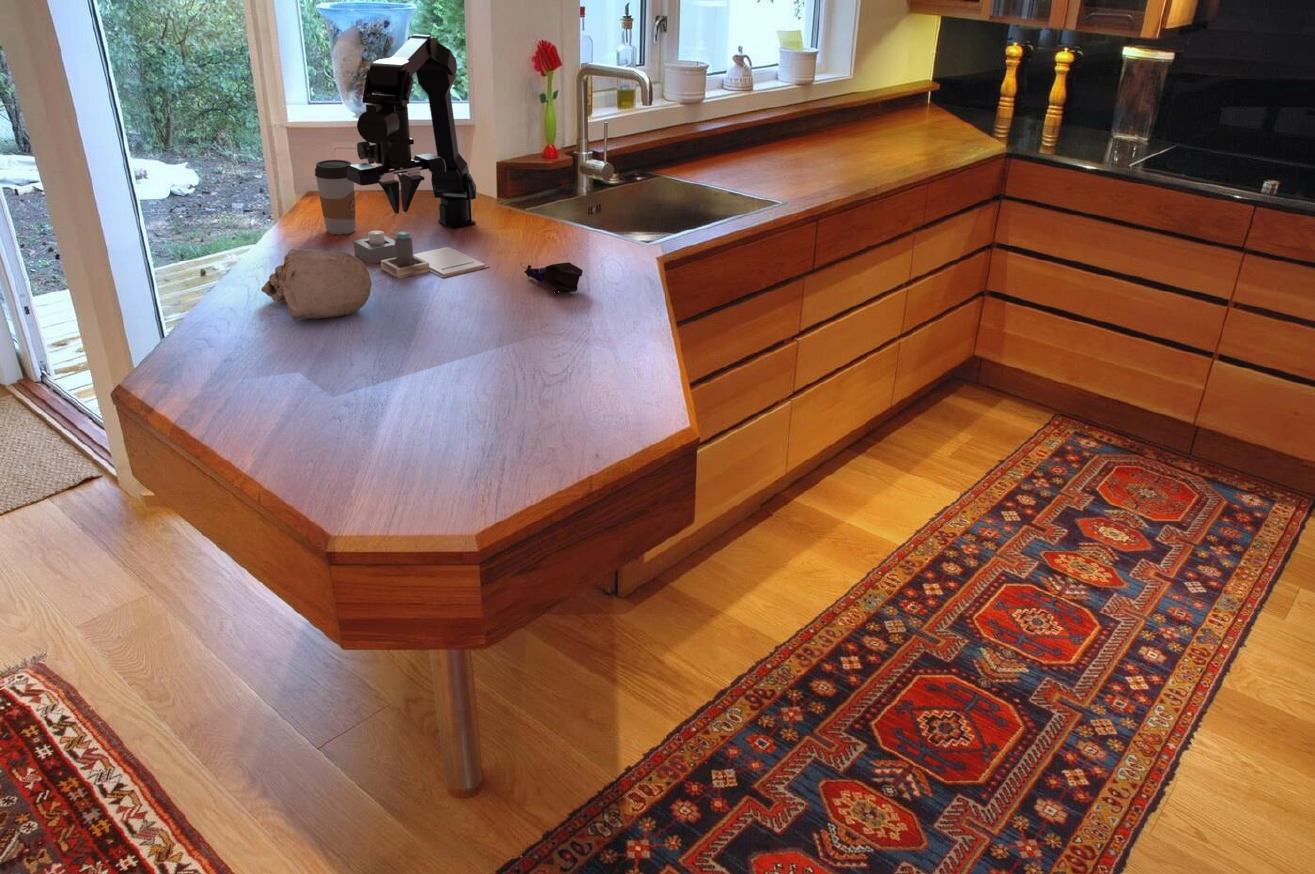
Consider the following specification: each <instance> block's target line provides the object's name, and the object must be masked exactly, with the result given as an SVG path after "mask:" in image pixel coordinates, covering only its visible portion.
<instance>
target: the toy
mask: <svg viewBox="0 0 1315 874" xmlns="http://www.w3.org/2000/svg"><path fill="white" fill-rule="evenodd" d="M519 266H520V267H521V268H522V269H524V273H525V274H526V275H527V278H532V279H534V280H535V281H537V282H538V281H544V283H545V284H547V285H548V286H549V287H551V288H553V289H554V292H555V294H559V293H558V291H559V292H560V293H562V294H563V293H564V294H565V293H576V291H577V292H578V285H579V280H580V277H582V276H583V273H584V271H583V269H582V268H580V267H578V266H576V265H574V264H573V263H571V262H570V261H569V262H559V263H553V264H552V263H551V264H549V265H547V266H545V267H540V268H532V264H531V265H530V264H528V265H527V267H526V266H523V263H519ZM554 292H553V293H554Z"/></svg>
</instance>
